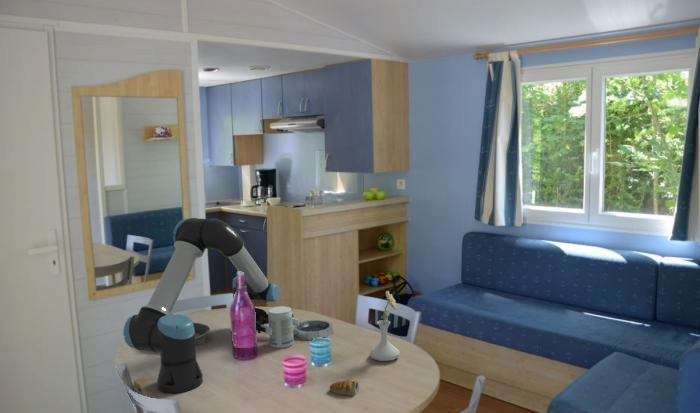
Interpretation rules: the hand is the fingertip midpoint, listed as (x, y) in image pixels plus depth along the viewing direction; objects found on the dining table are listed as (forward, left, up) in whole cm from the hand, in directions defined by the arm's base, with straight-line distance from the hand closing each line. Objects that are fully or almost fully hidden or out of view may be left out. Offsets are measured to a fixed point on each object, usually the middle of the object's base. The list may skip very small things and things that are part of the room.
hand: (285, 327), depth 229 cm
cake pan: (+34, +33, -8) cm, 48 cm away
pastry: (-49, +3, -8) cm, 50 cm away
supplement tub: (+3, +1, -8) cm, 9 cm away
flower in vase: (-34, -24, -8) cm, 43 cm away
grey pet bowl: (+7, -16, -8) cm, 20 cm away
